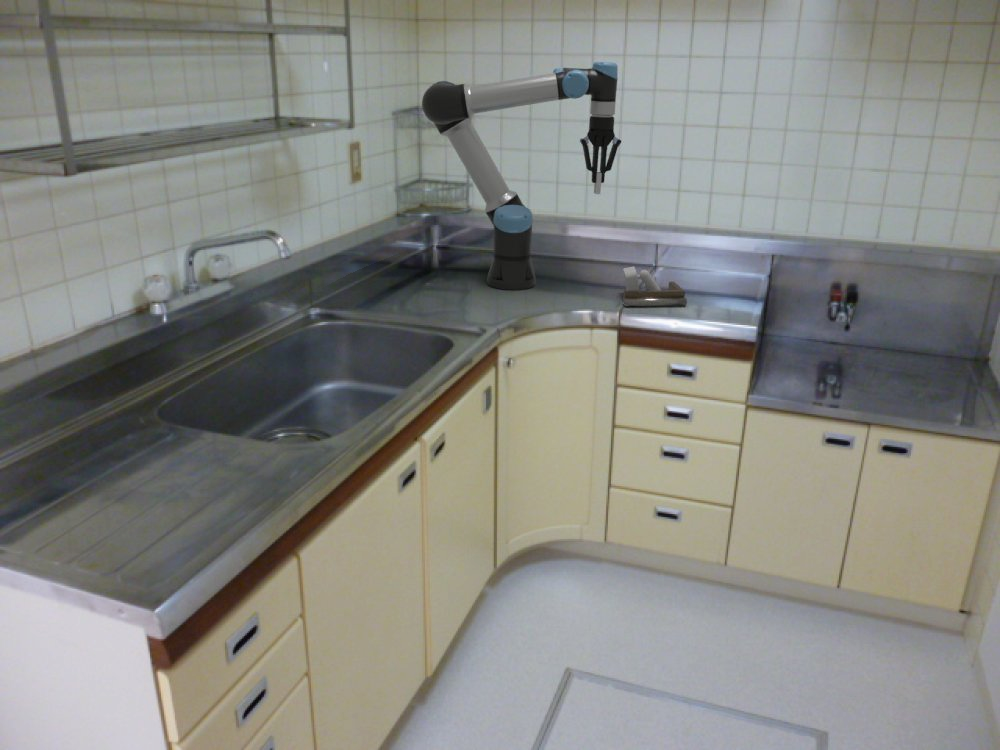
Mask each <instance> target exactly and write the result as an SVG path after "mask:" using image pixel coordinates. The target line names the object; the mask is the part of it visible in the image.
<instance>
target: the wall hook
mask: <svg viewBox="0 0 1000 750" xmlns="http://www.w3.org/2000/svg"><path fill="white" fill-rule="evenodd" d="M622 270H623V271H622V272H623V278H624V283H625V284H624V285H625V291H639V290H640V285H639V280H641V282H642V283H643V284H644V285H645V287H646V288H647V290H662V289H661V287H660V286H659V284H658V283H657V282H656V279H654V277H653V276H652V275H651V273H650V271H648V270H646V269H643V270H641V271H639V274H638V272H637V269H636V268H635V266H630V267H625V268H623V269H622Z"/></svg>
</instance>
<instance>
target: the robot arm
mask: <svg viewBox="0 0 1000 750" xmlns="http://www.w3.org/2000/svg"><path fill="white" fill-rule="evenodd" d="M618 67H619V66H618V64H617V62H613V61H595V62H593V64H592V67H591V68H575V67H555V68H554V69H553V70H552V71H553V72H551V73H548V74H547V73H546V74H541V75H540V74H539V75H534V76H528V77H522V78H515V79H509V80H502V81H497V82H492V83H491V82H489V83H484V84H477V85H472V86H469V85H467V84H466V83H462V84H460V83H459V84H455V83H453V82H451V81H447V80H441V81H437V82H434V83H433V84H432V85H430V86H429V87H428V88H427V90H425V92H424V94H423V95H422V96H423V97H422V100H421V108H422V111H423V114H424V115H425V117H426V118H427V119H428V120H429V121H430V122H432V123H433V124H434V126H435V127H436V129H437V131H438V133H439V135H441V136H445V137H446V138H448V141H449V142H450V144H451V145H452V147H453V149H454V150H455V152H456V154H457V156H458V158H459V160H460V162H462V163H461V164H463V166H464V167H465V170H466V171H467V174H468V175H469V176H470V179H471V180H472V182H473V184H474V185H475V187H476V189H477V190H478V192H479V194H480V195H481V197H482V199H483V201H484V202H485V208H484V212H485V213H486V215H487V217H488V219H489V221H490V223H491V224H492V226H493V249H492V250H493V257H492V260H491V264H490V267H489V270H488V274H487V276H486V278H487V279H486V283H487V285H489V286H490V287H492V288H494V289H495V288H496V289H500V290H506V291H507V290H511V291H512V290H513V291H516V290H518V291H519V290H526V289H527V290H528V289H531V288H534V286H535V285H536V274H535V270H534V267H533V264H532V257H531V255H532V237H533V236H532V235H533V234H532V232H533V230H532V229H533V223H534V221H533V220H534V218H533V213H532V211H531V209H530V208H528V207H526V206H525V205H524V204H523V202H522V200H521V198H520V196H519V195H518V193H517V192H516V191H513V190H510V189H509V186H508V184H507V183H506V181H505V179H504V178H503V176H502V174H501V172H500V171H499V169H498V167H497V166H496V164H495V162H494V160H493V159H492V156H491V155H490V153H489V151H488V149H487V147H486V146H485V144H484V142H483V141H482V139H481V137H480V135H479V133H478V132H477V130H476V127H475V126H474V125H473V123H472V122H473V121H472V120H473V115H474V114H480V113H486V112H492V111H498V110H505V109H511V108H516V107H524V106H530V105H536V104H537V105H538V104H541V103H548V102H554V101H561V100H569V99H580V98H582V97H584V96H585V95H586V96H590V111H589V114H590V115H591V116H590V117H589V125H588V132H587V134H586V136H585V137H583V138H580V139H579V142H580V144H581V146H582V151H583V156H584V162H585V169H586V170H587V171H590V172H591V183H593V193H594V194H595V195H601V192H602V191H601V188H602V184H604V183H605V179H606V178H605V174H606V173H607V172H609V171H610V172H611V171H612V168H613V164H614V161H615V158H616V154H617V151H618V148H619V146H620V145H621V143H622V139H620V138H617V137H616V134H615V131H614V129H615V128H614V127H615V117H614V115H615V114H616V100H617V99H616V98H617V89H618V88H617V87H618V81H619V80H618V70H619V69H618ZM589 142H590V143H591V145H592V159H591V157H590V156H591V155H590V151H589V150H590V149H589ZM611 143H612V145H611V149H610V152H609V155H608V154H607V152H608V146H609V145H610V144H611ZM599 152H600V166H598V165H599ZM607 155H608V159H607ZM591 160H592V162H591ZM598 167H599V171H598Z"/></svg>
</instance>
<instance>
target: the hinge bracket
mask: <svg viewBox="0 0 1000 750" xmlns="http://www.w3.org/2000/svg"><path fill="white" fill-rule="evenodd" d="M685 295H686V290H684V289H683V288H682V287H680V285H678V284H677V283H676V281H669V282H668V289H666V290H665V289H663V290H662V289H661V290H648V289H647V290H645V289H644V290H643V289H642V290H640V289H639V291H627V290H623V297H622V304H623V303H624V304H625V305H626V306H647V307H686V306H687V302H688V300H687V297H685ZM625 305H624V306H625Z"/></svg>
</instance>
